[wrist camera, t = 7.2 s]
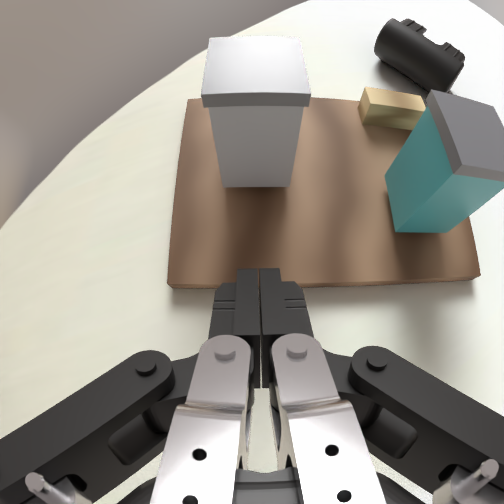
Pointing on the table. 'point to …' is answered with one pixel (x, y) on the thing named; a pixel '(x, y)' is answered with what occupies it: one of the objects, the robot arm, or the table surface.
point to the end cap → (419, 55)
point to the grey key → (255, 107)
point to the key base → (311, 206)
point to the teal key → (446, 165)
